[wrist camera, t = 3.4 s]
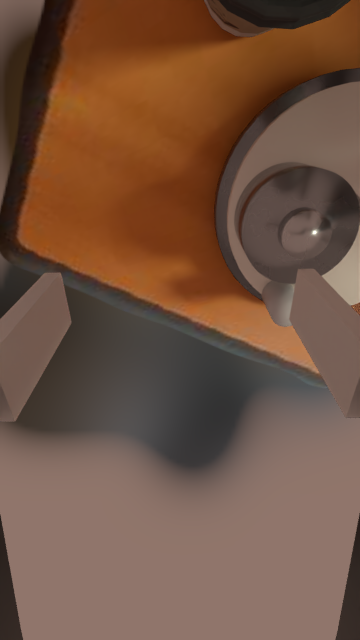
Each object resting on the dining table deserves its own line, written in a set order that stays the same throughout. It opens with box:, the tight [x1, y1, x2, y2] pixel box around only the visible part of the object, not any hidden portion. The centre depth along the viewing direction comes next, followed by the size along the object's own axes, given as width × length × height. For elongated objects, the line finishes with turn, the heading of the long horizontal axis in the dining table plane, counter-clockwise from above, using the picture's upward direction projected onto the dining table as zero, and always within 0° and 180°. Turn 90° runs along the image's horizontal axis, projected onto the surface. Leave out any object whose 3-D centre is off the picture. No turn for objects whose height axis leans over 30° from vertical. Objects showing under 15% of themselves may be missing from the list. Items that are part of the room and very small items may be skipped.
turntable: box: [227, 81, 360, 327], centre depth 29 cm, size 20×20×6 cm
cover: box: [234, 162, 360, 284], centre depth 27 cm, size 9×9×6 cm
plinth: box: [214, 68, 360, 301], centre depth 32 cm, size 22×22×2 cm
